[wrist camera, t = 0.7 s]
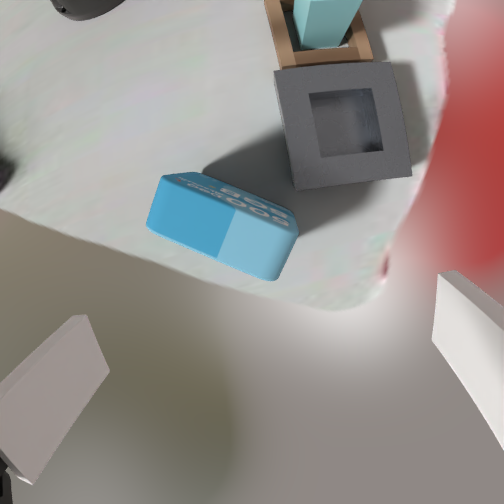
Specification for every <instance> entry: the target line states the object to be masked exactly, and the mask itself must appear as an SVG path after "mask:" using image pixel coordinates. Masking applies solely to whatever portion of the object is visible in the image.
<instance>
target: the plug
mask: <svg viewBox="0 0 504 504" xmlns="http://www.w3.org/2000/svg"><path fill="white" fill-rule="evenodd" d="M362 1H363V0H294V11H293V22H294V25H295V29H296V33H297V37H298V40H299V44H300V48H301V50H305V49H315V48H327V47H338V46H339V44H340V42H341V40H342V39H343V37H344V35H345V33H346V31H347V29H348V27H349V25H350V23H351V22H352V20H353V18H354V16H355V14H356V12H357V10H358V8H359V7H360V5H361V3H362Z"/></svg>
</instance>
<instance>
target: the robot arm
mask: <svg viewBox="0 0 504 504" xmlns="http://www.w3.org/2000/svg"><path fill="white" fill-rule="evenodd" d="M50 1H51V2H52V4H53V6H54V7H55V9H56V10H57V11H58V12H59V13H60V14H62V15H63V16H65V17H67V18H69V19H71V20H76V21H82V20H88V19H92V18H95V17H97V16H100V15H102V14H104V13H106V12H107V11H109V10H111V9H112V8H114V7H115V6H117V5H118V4H119V3H121V2H122V1H123V0H50ZM432 341H433V342H434V344H435V345H436V347H437V348H438V349H439V351H440V352H441V354H442V355H443V356H444V358H445V359H446V360H447V362H448V363H449V365H450V366H451V368H452V369H453V371H454V372H455V373H456V375H457V376H458V378H459V379H460V381H461V382H462V384H463V385H464V387H465V388H466V390H467V391H468V393H469V394H470V396H471V397H472V399H473V401H474V402H475V404H476V405H477V407H478V408H479V410H480V412H481V413H482V415H483V416H484V418H485V420H486V421H487V423H488V425H489V426H490V428H491V429H492V431H493V433H494V435H495V436H496V438H497V440H498V442H499V443H500V445H501V447H502V449H503V450H504V307H503V306H501V305H500V304H499V303H498V302H496V301H495V300H494V299H492V298H491V297H490V296H489V295H488V294H486V293H485V292H484V291H483V290H481V289H480V288H479V287H477V286H476V285H475V284H473V283H472V282H471V281H469V280H468V279H467V278H465V277H464V276H463V275H461V274H460V273H459V272H457V271H456V270H453V271H448V272H442V273H438V283H437V297H436V308H435V318H434V326H433V334H432ZM109 372H110V370H109V368H108V366H107V363H106V361H105V359H104V357H103V354H102V352H101V350H100V348H99V345H98V342H97V340H96V338H95V335H94V333H93V330H92V327H91V325H90V322H89V320H88V317H87V315H74V316H72V317H71V318H70V319H69V320H68V321H66V322H65V323H64V324H63V325H62V326H61V327H60V328H58V329H57V330H56V331H55V332H54V333H53V334H52V335H51V336H50V337H48V338H47V339H46V340H45V341H44V342H43V343H42V344H41V345H40V346H39V347H38V348H36V349H35V350H34V351H33V352H32V353H31V354H30V355H29V356H28V357H27V358H26V359H25V360H24V361H23V362H21V364H19V365H18V366H17V367H16V368H15V369H14V370H13V371H12V372H11V373H10V374H9V375H8V376H7V377H6V378H5V379H4V380H3V381H2V382H1V383H0V504H13V503H12V492H11V479H10V476H9V474H8V473H7V472H6V471H5V470H6V469H7V467H9V468H10V469H11V470H12V471H13V472H14V474H15V475H16V476H17V477H18V478H19V479H21V480H23V481H25V482H28V483H29V484H32V485H34V483H35V481H36V480H37V478H38V477H39V475H40V473H41V472H42V470H43V469H44V467H45V466H46V464H47V463H48V461H49V459H50V457H51V456H52V455H53V453H54V452H55V450H56V449H57V447H58V446H59V444H60V443H61V441H62V440H63V438H64V437H65V435H66V434H67V432H68V431H69V429H70V428H71V426H72V425H73V423H74V422H75V420H76V419H77V417H78V416H79V415H80V413H81V412H82V410H83V409H84V407H85V406H86V404H87V403H88V401H89V400H90V399H91V397H92V396H93V394H94V393H95V391H96V390H97V389H98V387H99V386H100V384H101V383H102V381H103V380H104V379H105V377H106V376H107V374H108V373H109Z"/></svg>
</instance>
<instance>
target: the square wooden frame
mask: <svg viewBox="0 0 504 504" xmlns="http://www.w3.org/2000/svg"><path fill="white" fill-rule="evenodd" d="M264 5H265V9H266V12H267V16H268V20H269V24H270V28H271V32H272V36H273V40H274V44H275V49H276V53H277V57H278V61H279V66H280V70H284V69H291V68H299V67H308V66H317V65H329V64H342V63H362V62H372V60H373V59H374V58H373V54H372V51H371V47H370V44H369V40H368V37H367V34H366V31H365V28H364V24H363V21H362V18H361V15H360V12H359V10H357V12H356V14H355V16H354V18H353V20H352V22H351V23H350V25H349V27H348V29H347V31H346V33H345V34H346V38H347V41H348V45H349V48H332V49H319V50H308V51H299V52H293V50H292V46H291V42H290V38H289V34H288V30H287V26H286V22H285V19H284V15H283V11H292V10H294V0H264Z"/></svg>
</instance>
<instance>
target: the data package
mask: <svg viewBox="0 0 504 504" xmlns="http://www.w3.org/2000/svg"><path fill="white" fill-rule="evenodd" d="M146 227H147V228H148V229H149V230H150V231H151V232H152V233H154V234H156V235H158V236H160V237H163V238H165V239H167V240H169V241H172V242H174V243H176V244H179V245H181V246H183V247H186V248H188V249H190V250H193V251H195V252H197V253H200V254H202V255H204V256H207V257H209V258H211V259H214V260H216V261H218V262H221V263H223V264H226V265H228V266H230V267H233V268H235V269H237V270H240V271H242V272H245V273H247V274H249V275H252V276H254V277H257V278H259V279H262V280H266V281H275V280H277V279H278V278H279V276H280V273H281V271H282V269H283V267H284V265H285V263H286V261H287V259H288V256H289V254H290V252H291V250H292V248H293V246H294V244H295V241H296V239H297V237H298V235H299V230H298V227H297V224H296V220H295V217H294V214H293V213H292V212H291V211H290V210H288V209H286V208H284V207H282V206H279V205H277V204H275V203H273V202H270V201H268V200H265V199H263V198H261V197H258V196H256V195H254V194H251V193H249V192H246V191H244V190H241V189H239V188H237V187H234V186H232V185H229V184H227V183H224V182H222V181H219V180H217V179H214V178H212V177H209V176H207V175H204V174H201V173H197V172H187V173H178V174H170V175H163V176H162V177H161V179H160V182H159V185H158V188H157V191H156V194H155V197H154V200H153V203H152V206H151V209H150V212H149V215H148V219H147V222H146Z"/></svg>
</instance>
